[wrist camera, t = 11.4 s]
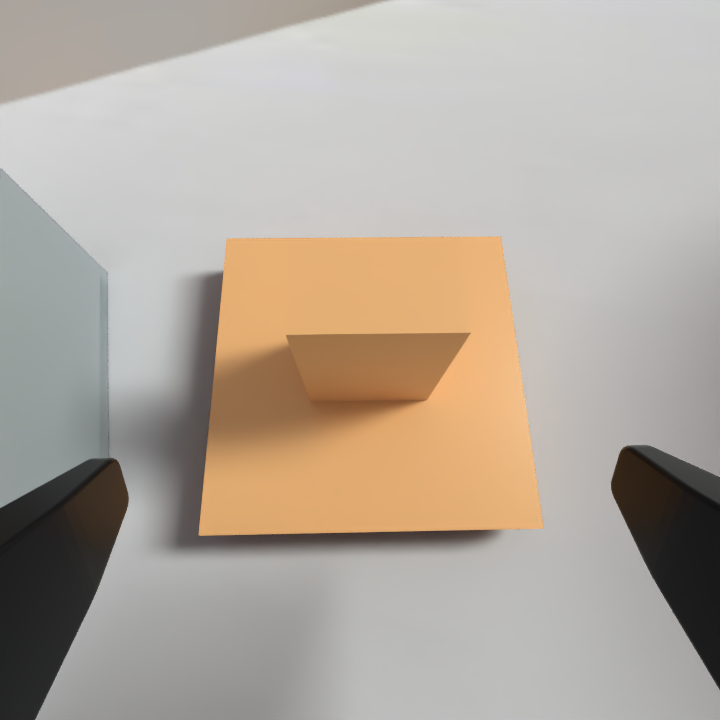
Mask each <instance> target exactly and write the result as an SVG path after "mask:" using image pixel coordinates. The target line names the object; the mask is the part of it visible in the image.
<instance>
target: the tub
mask: <svg viewBox="0 0 720 720" xmlns="http://www.w3.org/2000/svg"><path fill="white" fill-rule="evenodd" d="M92 458H109V443H108V296H107V271H106V270H105V269H104V268H103V267H101V266H100V265H99V264H98V263H97V262H96V261H95V260H94V259H93V258H92V257H91V256H90V255H89V254H88V253H87V252H86V251H85V250H84V249H83V248H82V247H81V246H80V245H79V244H78V243H77V242H76V241H75V240H74V239H73V238H72V237H71V236H70V235H69V234H68V233H67V232H66V231H65V230H64V229H63V228H62V227H61V226H60V225H59V224H58V223H57V222H56V221H55V220H53V219H52V218H51V217H50V216H49V215H48V214H47V213H46V212H45V211H44V210H43V209H42V208H41V207H40V206H39V205H38V204H37V203H36V202H35V201H34V200H33V199H32V198H31V197H30V196H29V195H28V194H27V193H26V192H25V191H24V190H23V189H22V188H21V187H20V186H19V185H18V184H17V183H16V182H15V181H14V180H13V179H12V178H11V177H10V176H9V175H8V174H6V173H5V172H4V171H3V170H2V169H1V168H0V508H1V507H3V506H5V505H7V504H8V503H10V502H12V501H14V500H16V499H17V498H19V497H21V496H23V495H25V494H27V493H28V492H30V491H32V490H34V489H36V488H37V487H39V486H41V485H43V484H45V483H46V482H48V481H50V480H52V479H54V478H56V477H57V476H59V475H61V474H63V473H65V472H66V471H68V470H70V469H72V468H74V467H76V466H77V465H79V464H81V463H83V462H85V461H86V460H89V459H92Z"/></svg>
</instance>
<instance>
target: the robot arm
mask: <svg viewBox="0 0 720 720" xmlns="http://www.w3.org/2000/svg"><path fill="white" fill-rule="evenodd" d="M611 490H612V494H613V496H614V499H615V501H616V503H617V505H618V507H619V509H620V511H621V513H622V515H623V517H624V520H625V522H626V524H627V526H628V528H629V530H630V532H631V534H632V536H633V538H634V541H635V543H636V545H637V547H638V549H639V551H640V553H641V555H642V557H643V560H644V562H645V564H646V565H647V567H648V569H649V571H650V573H651V575H652V577H653V579H654V580H655V582H656V584H657V586H658V588H659V589H660V591H661V593H662V594H663V596H664V598H665V599H666V601H667V603H668V604H669V606H670V608H671V609H672V611H673V613H674V614H675V616H676V618H677V619H678V621H679V623H680V624H681V626H682V628H683V629H684V631H685V633H686V634H687V636H688V638H689V639H690V641H691V643H692V644H693V646H694V648H695V649H696V651H697V653H698V655H699V656H700V658H701V660H702V661H703V663H704V665H705V666H706V668H707V670H708V671H709V673H710V675H711V676H712V678H713V680H714V681H715V683H716V685H717V686H718V688H719V690H720V477H718V476H716V475H713V474H711V473H709V472H707V471H705V470H702V469H700V468H698V467H696V466H694V465H691V464H689V463H687V462H685V461H683V460H680V459H678V458H676V457H674V456H672V455H669V454H667V453H665V452H663V451H660V450H658V449H656V448H654V447H651V446H648V445H631V446H626V447H624V448H623V449H622V450H621V451H620V454H619V457H618V461H617V464H616V467H615V471H614V474H613V477H612V481H611ZM128 501H129V497H128V491H127V488H126V484H125V481H124V478H123V474H122V471H121V467H120V465H119V462H118V461H117V460H116V459H114V458H92V459H89V460H86V461H85V462H83V463H81V464H79V465H77V466H76V467H74V468H72V469H70V470H68V471H66V472H65V473H63V474H61V475H59V476H57V477H56V478H54V479H52V480H50V481H48V482H46V483H45V484H43V485H41V486H39V487H37V488H36V489H34V490H32V491H30V492H28V493H27V494H25V495H23V496H21V497H19V498H17V499H16V500H14V501H12V502H10V503H8V504H7V505H5V506H3V507H1V508H0V720H35V719H36V717H37V715H38V713H39V710H40V708H41V706H42V704H43V702H44V700H45V698H46V696H47V694H48V692H49V690H50V688H51V686H52V684H53V681H54V679H55V677H56V675H57V673H58V671H59V669H60V667H61V665H62V663H63V661H64V659H65V657H66V655H67V652H68V650H69V648H70V646H71V644H72V642H73V640H74V638H75V636H76V634H77V632H78V630H79V628H80V626H81V623H82V621H83V619H84V617H85V615H86V613H87V611H88V609H89V607H90V605H91V602H92V600H93V598H94V596H95V594H96V591H97V589H98V586H99V584H100V581H101V579H102V576H103V574H104V571H105V568H106V565H107V563H108V560H109V557H110V554H111V552H112V549H113V546H114V543H115V541H116V538H117V535H118V532H119V530H120V527H121V524H122V521H123V519H124V516H125V513H126V510H127V507H128Z"/></svg>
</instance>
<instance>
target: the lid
mask: <svg viewBox="0 0 720 720" xmlns="http://www.w3.org/2000/svg"><path fill="white" fill-rule="evenodd" d="M541 528H544V527H543V520H542V513H541V506H540V500H539V493H538V486H537V479H536V472H535V465H534V459H533V452H532V445H531V438H530V431H529V425H528V418H527V411H526V404H525V397H524V390H523V384H522V377H521V370H520V363H519V356H518V349H517V343H516V336H515V329H514V322H513V315H512V309H511V302H510V295H509V288H508V281H507V274H506V268H505V261H504V254H503V247H502V240H501V237H380V238H241V239H227V241H226V252H225V262H224V273H223V283H222V294H221V304H220V315H219V325H218V336H217V347H216V357H215V368H214V378H213V389H212V399H211V410H210V420H209V431H208V441H207V452H206V462H205V473H204V483H203V494H202V504H201V515H200V525H199V536H207V535H255V534H303V533H350V532H398V531H446V530H494V529H541Z"/></svg>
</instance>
